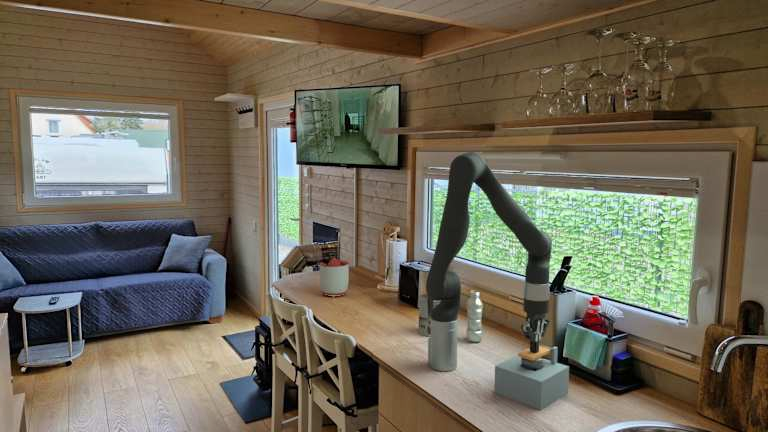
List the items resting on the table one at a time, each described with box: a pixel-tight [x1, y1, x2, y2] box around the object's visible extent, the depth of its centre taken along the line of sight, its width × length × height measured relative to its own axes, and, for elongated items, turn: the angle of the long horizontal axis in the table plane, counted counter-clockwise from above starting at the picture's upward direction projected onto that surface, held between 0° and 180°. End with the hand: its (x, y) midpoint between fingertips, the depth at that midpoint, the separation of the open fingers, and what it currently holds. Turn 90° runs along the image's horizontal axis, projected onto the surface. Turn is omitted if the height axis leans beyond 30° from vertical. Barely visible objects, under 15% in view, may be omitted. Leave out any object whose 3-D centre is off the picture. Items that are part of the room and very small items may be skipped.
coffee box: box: [418, 293, 441, 338], centre depth 218 cm, size 9×6×16 cm
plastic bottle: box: [465, 289, 484, 343], centre depth 208 cm, size 6×7×20 cm
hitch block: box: [493, 346, 570, 411], centre depth 163 cm, size 16×16×14 cm
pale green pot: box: [318, 257, 350, 295], centre depth 278 cm, size 16×17×20 cm
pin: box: [521, 356, 544, 371], centre depth 163 cm, size 6×6×11 cm
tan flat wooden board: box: [517, 343, 552, 361], centre depth 164 cm, size 5×12×2 cm, turn 133°
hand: (534, 352), depth 163 cm, fingers closed
